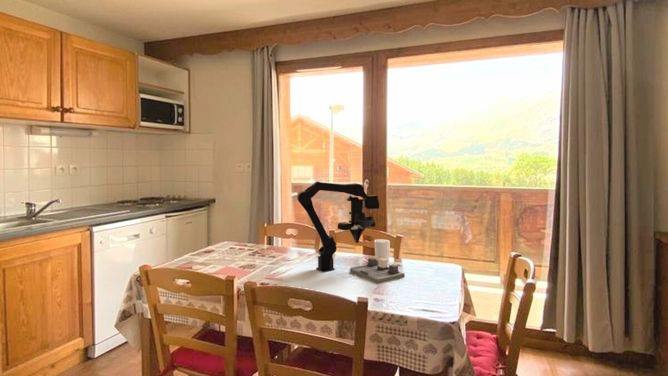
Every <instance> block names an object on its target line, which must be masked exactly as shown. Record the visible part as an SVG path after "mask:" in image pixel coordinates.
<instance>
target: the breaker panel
mask: <svg viewBox="0 0 668 376" xmlns="http://www.w3.org/2000/svg"><path fill="white" fill-rule="evenodd" d="M367 261H368V263H366V264H362V265H357V266H351V267H350V269H349V273H351V274H354V275H356V276H359V277H362V278H364V279H366V280H369V281H372V282H375V283H377V284H380V283H384V282H389V281H394V280H397V279H401V278H405V272H401V271H399V266H398V265H396V264H389V265H388V266H387V267H388V270H384V271H382V270H379V269H377V266H378V261H377V259H375V257H368V259H367Z"/></svg>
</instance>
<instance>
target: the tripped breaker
mask: <svg viewBox="0 0 668 376" xmlns="http://www.w3.org/2000/svg"><path fill="white" fill-rule="evenodd" d="M377 264H378V266H377V269H379V270H382V271H384V270H388V267H389V266H388V261H387V259H385V258H381V259H378V261H377Z"/></svg>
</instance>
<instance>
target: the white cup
mask: <svg viewBox="0 0 668 376" xmlns="http://www.w3.org/2000/svg"><path fill="white" fill-rule="evenodd" d="M390 243H391V241H390V240H389V239H386V238H385V239H384V238H380V239H379V238H377V239H375V240H374V255H375V257H374V258H375V259H377V262H378V259H381V258H385V259H387V262H388V261H389V260H390V249H391V248H390V246H391V245H390Z"/></svg>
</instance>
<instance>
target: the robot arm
mask: <svg viewBox="0 0 668 376" xmlns="http://www.w3.org/2000/svg"><path fill="white" fill-rule="evenodd" d="M320 191H324V192H333V193H334V192H335V193H344V194H348V195H349V196H348V197H347V198H346V201H347V202H350V211H349V212H348V214H349V215H350V220H349V221H348V222H346V221H345V222H339V223H337V229H338V230H340V231H349V232H350V233H351V235H352V238H353V240H354V242H355V243H356V244H359V242H360V240H361V237H362V234H363V232H364V231H365V230H367V228H375V227H376V226H377V225H376V224H377V223H376V221H375V219H374V216H372V215H370V216H366V214H365V211H364V208H365V210H368V211H371V210H376V211H377V210H379V208H380V201H379V196H378V195H377V194H374V195H368V194H367V193H366V192H365V189H364V186H363V185H362V184H359V183H356V182H355V183H354V182H353V183H346V184H345V183H344V184H342V183H341V184H340V183H332V182H331V183H330V182H322V181H321V182H320V181H315V182H314V183H313V184H312V185H310V186H309V187H307V188H305V190H301V191H299V192H298V193H297V195H296V199H297V202H298V203H299V204H300V205H301V206H302V208H303V209H304V211H305V212H306V214H307V216H308V218H309V219H310V221H311V223H312V225H313V226H314V229H315V231H316V232H317V234H318V238H319V239H320V240H319V241H320V244H321V247H320V248H319V249H318V250H317V252H318V254H319V256H317V267H316V269H317V270H318V271H321V272H330V271H335V268H334V258H333V255H334V254H335V253H336V252H337V249H338V248H337V246H338V244H337V242H336V241H335V238H334V237H333V235H332V234H328V233H327V231H326V228H325V227H324V225H323V224H322V221H321V220H320V217H319V215H318V214H317V212H316V209H315V208H314V204H313V200H312V198H313V197H314V196H316V195H317V194H318V192H320ZM353 196H354V197H353ZM359 197H360V198H359Z"/></svg>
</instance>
